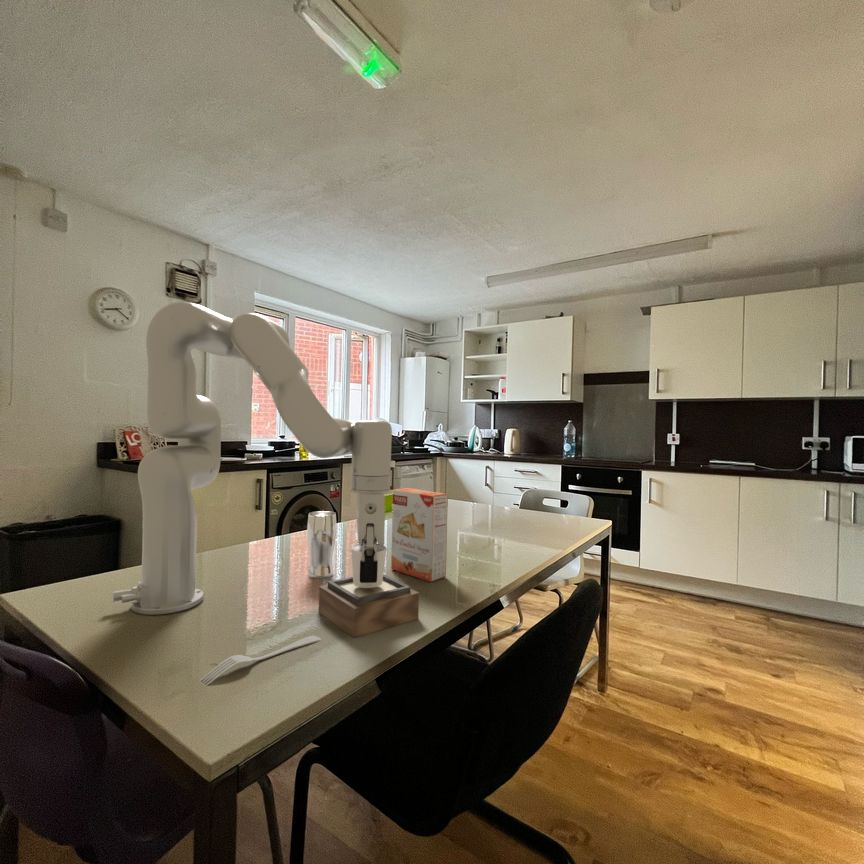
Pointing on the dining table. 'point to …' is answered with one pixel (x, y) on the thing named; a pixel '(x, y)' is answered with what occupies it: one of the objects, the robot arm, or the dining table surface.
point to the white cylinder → (357, 558)
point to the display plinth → (368, 605)
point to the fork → (240, 658)
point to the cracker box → (419, 533)
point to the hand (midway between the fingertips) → (367, 575)
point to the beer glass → (321, 543)
